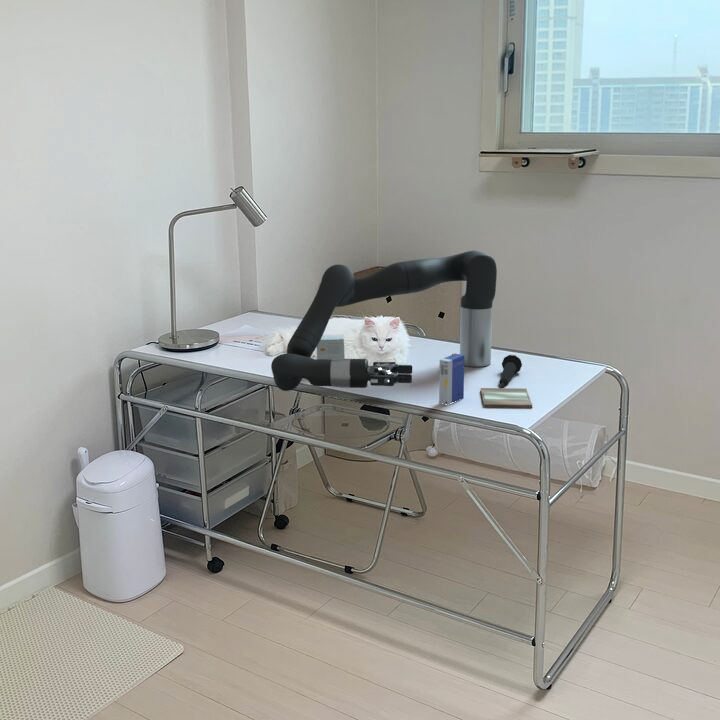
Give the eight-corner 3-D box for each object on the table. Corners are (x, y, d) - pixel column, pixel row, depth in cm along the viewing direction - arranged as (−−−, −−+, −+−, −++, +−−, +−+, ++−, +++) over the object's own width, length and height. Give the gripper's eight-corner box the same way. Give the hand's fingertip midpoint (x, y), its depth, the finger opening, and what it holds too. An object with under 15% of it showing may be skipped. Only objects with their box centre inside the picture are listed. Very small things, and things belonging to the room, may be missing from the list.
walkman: (454, 396, 227) (455, 352, 224) (463, 398, 225) (464, 353, 222) (438, 403, 221) (438, 358, 218) (447, 405, 220) (448, 360, 216)
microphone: (506, 400, 233) (519, 372, 251) (513, 382, 231) (525, 355, 248) (487, 393, 234) (501, 365, 252) (494, 375, 232) (507, 348, 249)
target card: (480, 390, 231) (480, 387, 231) (526, 391, 231) (526, 388, 230) (484, 407, 218) (484, 404, 218) (532, 407, 217) (532, 404, 217)
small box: (345, 369, 254) (344, 334, 251) (345, 374, 248) (344, 338, 246) (317, 369, 254) (316, 334, 251) (317, 374, 248) (316, 339, 245)
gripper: (351, 379, 231) (412, 380, 230) (347, 395, 218) (411, 396, 216) (351, 352, 229) (412, 352, 228) (346, 366, 216) (411, 367, 214)
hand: (412, 373), depth 222 cm, fingers open, 8 cm apart
